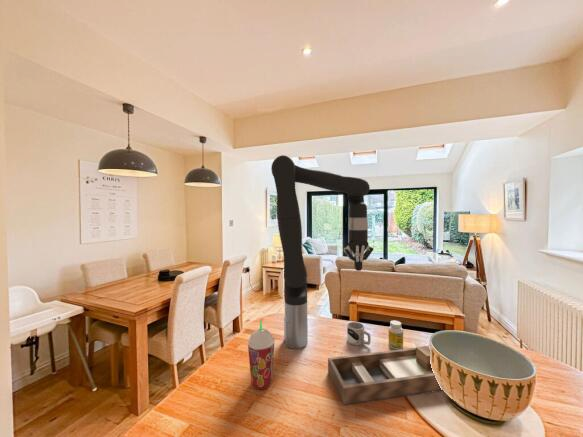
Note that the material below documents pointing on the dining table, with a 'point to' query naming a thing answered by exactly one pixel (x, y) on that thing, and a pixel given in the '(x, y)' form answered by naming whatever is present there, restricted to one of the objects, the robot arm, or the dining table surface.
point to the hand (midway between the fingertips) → (358, 270)
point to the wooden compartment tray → (379, 376)
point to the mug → (357, 334)
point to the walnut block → (423, 357)
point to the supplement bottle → (395, 335)
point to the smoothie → (261, 357)
